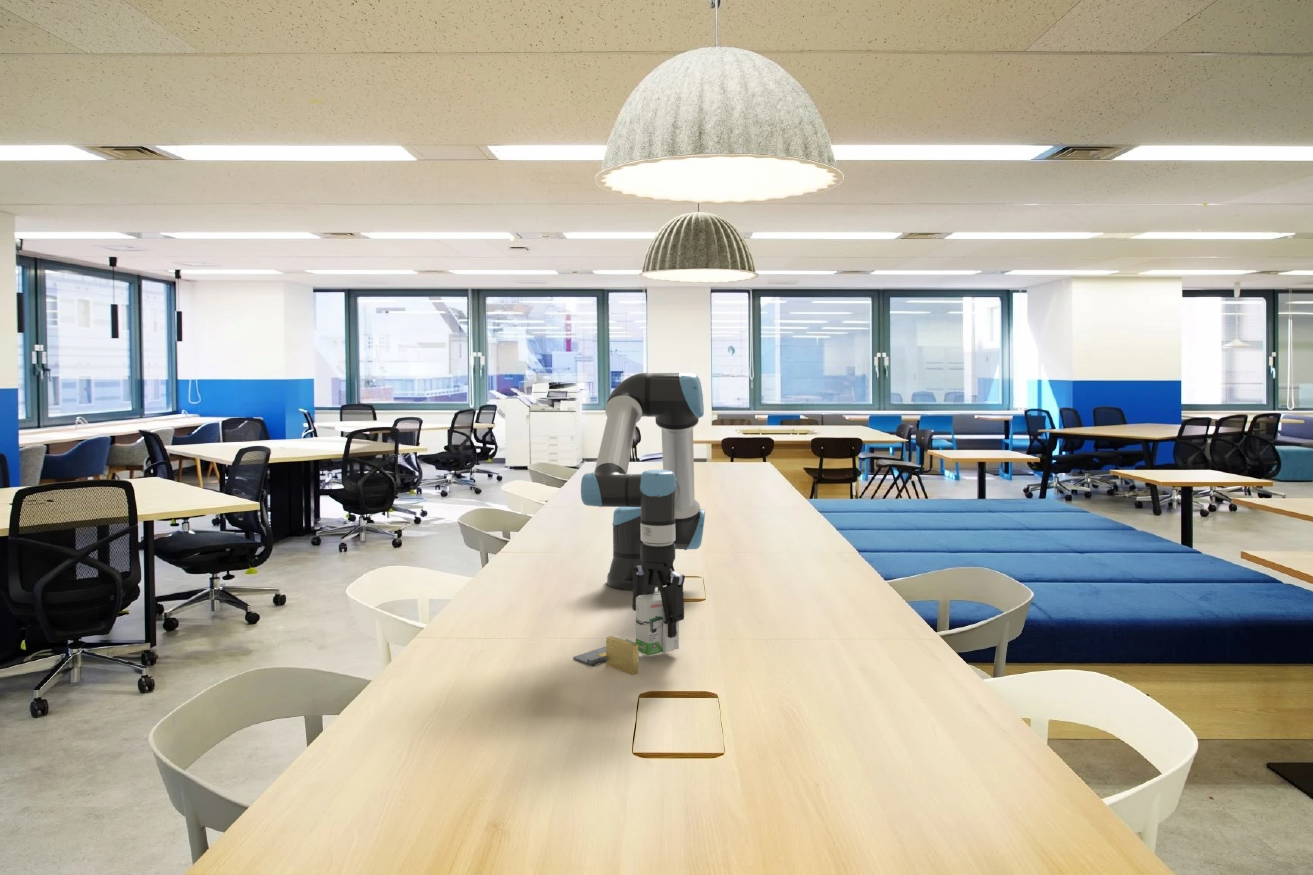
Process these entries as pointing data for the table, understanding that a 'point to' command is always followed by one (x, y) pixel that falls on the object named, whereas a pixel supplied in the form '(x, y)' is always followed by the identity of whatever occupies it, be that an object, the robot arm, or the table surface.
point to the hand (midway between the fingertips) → (657, 647)
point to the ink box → (651, 624)
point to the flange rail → (614, 655)
